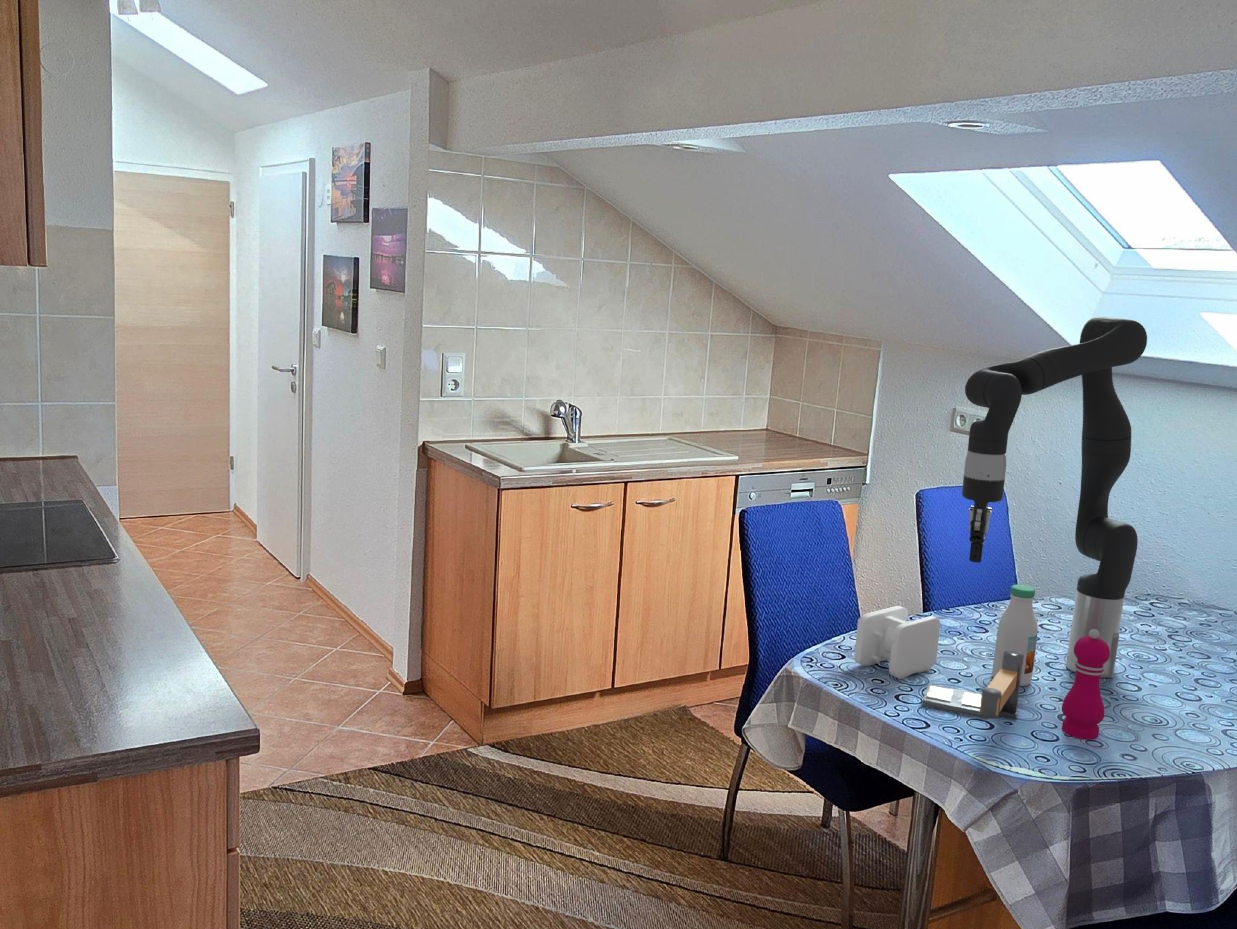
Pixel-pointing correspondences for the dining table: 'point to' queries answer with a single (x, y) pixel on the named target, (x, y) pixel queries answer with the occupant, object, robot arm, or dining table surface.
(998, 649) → the milk bottle
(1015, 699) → the post
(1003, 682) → the swing bar
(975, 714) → the label plate
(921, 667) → the cable organizer
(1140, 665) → the dining table surface
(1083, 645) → the pepper mill
